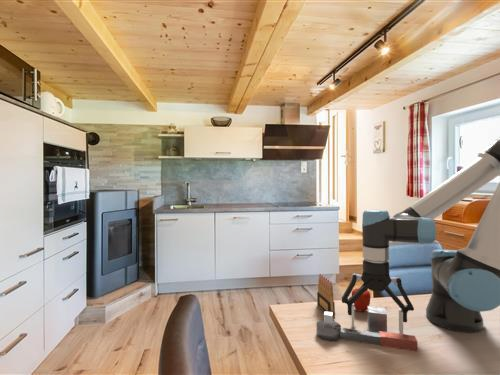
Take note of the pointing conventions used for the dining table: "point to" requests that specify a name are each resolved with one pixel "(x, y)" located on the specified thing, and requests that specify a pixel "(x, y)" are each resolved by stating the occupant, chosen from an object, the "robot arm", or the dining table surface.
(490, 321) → the dining table surface
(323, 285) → the ammunition clip
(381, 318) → the brushed steel cube
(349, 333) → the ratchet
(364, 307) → the apple
